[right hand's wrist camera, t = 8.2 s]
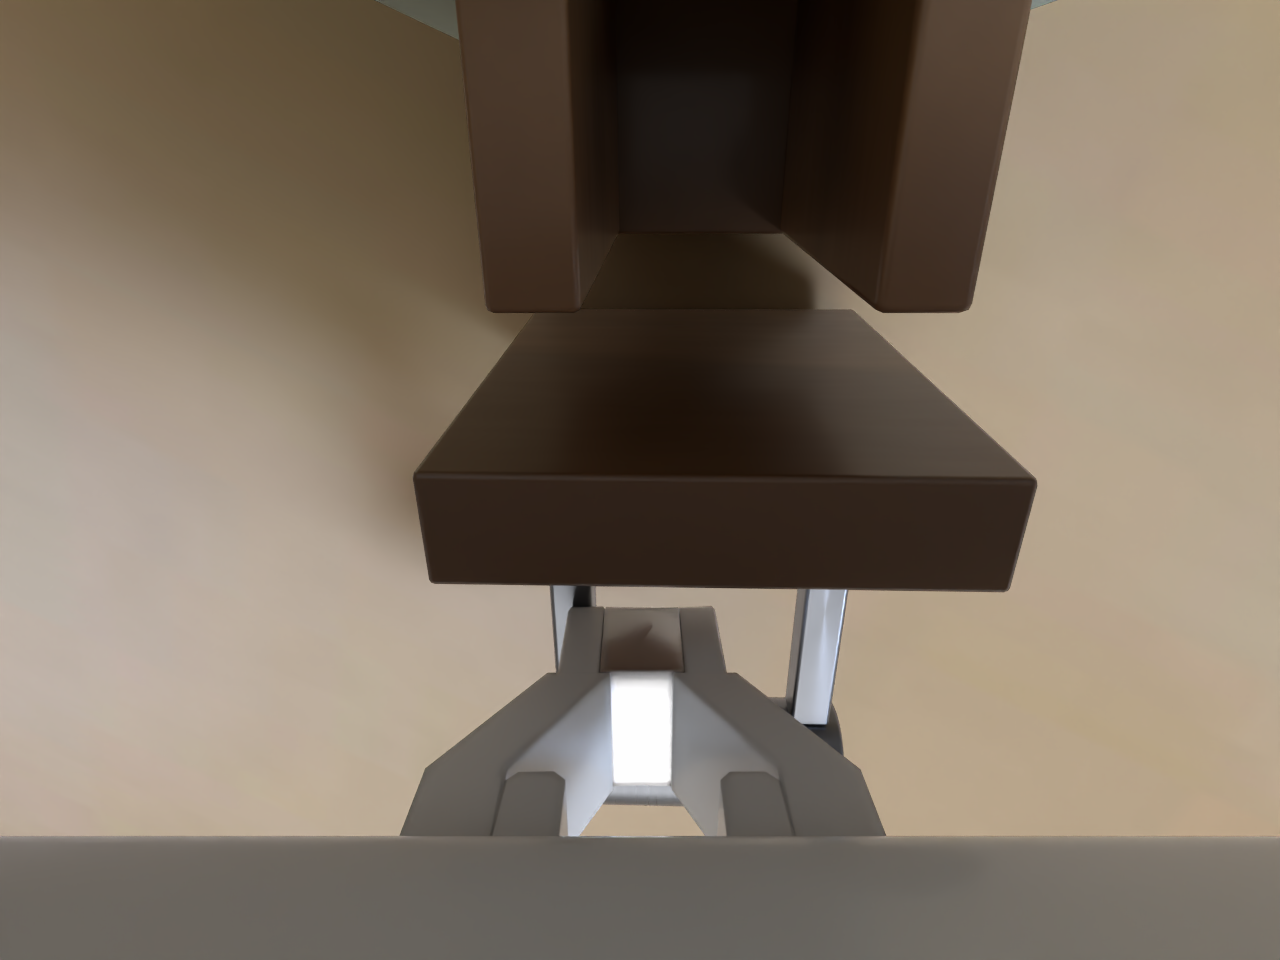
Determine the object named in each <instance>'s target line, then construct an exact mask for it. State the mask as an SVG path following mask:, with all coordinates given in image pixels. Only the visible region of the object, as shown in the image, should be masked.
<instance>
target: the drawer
mask: <svg viewBox="0 0 1280 960" xmlns="http://www.w3.org/2000/svg"><path fill="white" fill-rule="evenodd" d="M1031 4H1032V0H455V6H456V16H457V26H458V36H459V46H460V56H461V66H462V76H463V86H464V96H465V106H466V116H467V126H468V136H469V146H470V156H471V165H472V175H473V185H474V195H475V205H476V215H477V225H478V235H479V245H480V255H481V265H482V275H483V285H484V295H485V305H486V307H487V309H488V311H491V312H493V313H534V314H533V316H532V317H531V318H530V319H529V321H528V322H527V323H526V325H525V326H524V327H523V329H522V330H521V331H520V333H519V334H518V335H517V337H516V338H515V339H514V341H513V342H512V343H511V345H510V346H509V347H508V349H507V350H506V351H505V353H504V354H503V355H502V357H501V358H500V359H499V361H498V362H497V363H496V365H495V366H494V367H493V369H492V370H491V371H490V373H489V374H488V375H487V377H486V378H485V379H484V381H483V382H482V383H481V384H480V386H479V387H478V388H477V390H476V391H475V392H474V394H473V395H472V396H471V398H470V399H469V400H468V402H467V403H466V404H465V406H464V407H463V408H462V410H461V411H460V412H459V414H458V415H457V416H456V418H455V419H454V420H453V422H452V423H451V424H450V426H449V427H448V428H447V430H446V431H445V432H444V434H443V435H442V436H441V438H440V439H439V440H438V442H437V443H436V444H435V446H434V447H433V448H432V449H431V451H430V452H429V453H428V455H427V456H426V457H425V459H424V460H423V461H422V463H421V464H420V465H419V467H418V468H417V469H416V471H415V472H414V475H413V482H414V488H415V495H416V501H417V507H418V513H419V519H420V525H421V532H422V538H423V544H424V550H425V556H426V562H427V569H428V575H429V580H430V581H431V582H432V583H434V584H488V585H550V596H551V610H552V623H553V637H554V651H555V664H556V673H557V672H558V666H559V661H560V655H561V649H562V644H563V638H564V632H565V627H566V621H567V615H568V611H569V609H570V608H571V607H596V586H623V587H690V588H758V589H798V590H797V599H796V608H795V617H794V626H793V635H792V644H791V653H790V662H789V671H788V680H787V689H786V698H778V697H768V698H769V699H771V700H772V701H773V702H775V703H776V704H777V705H778V706H780V707H781V708H782V709H784V710H785V711H786V712H787V713H789V714H790V715H791V716H793V717H794V718H795V719H796V720H798V721H799V722H800V723H802V724H803V725H804V726H805V727H807V728H808V729H809V730H810V731H812V732H813V733H814V734H816V735H817V736H818V737H819V738H821V739H822V740H823V741H825V742H826V743H827V744H828V745H830V746H831V747H832V748H834V749H835V750H836V751H837V752H839V753H840V754H841V755H843V756H844V753H843V743H842V735H841V730H840V725H839V720H838V717H837V714H836V711H835V708H834V706H833V704H832V696H833V690H834V683H835V676H836V669H837V663H838V656H839V649H840V643H841V636H842V629H843V622H844V616H845V609H846V602H847V595H848V590H892V591H960V592H1005V591H1008V590H1009V588H1010V585H1011V582H1012V578H1013V574H1014V570H1015V567H1016V563H1017V559H1018V556H1019V552H1020V548H1021V544H1022V541H1023V537H1024V533H1025V530H1026V526H1027V522H1028V518H1029V515H1030V511H1031V507H1032V504H1033V500H1034V496H1035V492H1036V489H1037V481H1036V478H1035V477H1034V476H1033V475H1032V474H1030V473H1029V472H1028V471H1027V470H1026V469H1025V468H1024V467H1023V466H1022V465H1021V464H1020V463H1019V462H1017V461H1016V460H1015V459H1014V458H1013V457H1012V456H1011V455H1010V454H1009V453H1008V452H1007V451H1005V450H1004V449H1003V448H1002V447H1001V446H1000V445H999V444H998V443H997V442H996V441H995V440H994V439H992V438H991V437H990V436H989V435H988V434H987V433H986V432H985V431H984V430H983V429H982V428H981V427H979V426H978V425H977V424H976V423H975V422H974V421H973V420H972V419H971V418H970V417H969V416H968V415H966V414H965V413H964V412H963V411H962V410H961V409H960V408H959V407H958V406H957V405H956V404H954V403H953V402H952V401H951V400H950V399H949V398H948V397H947V396H946V395H945V394H944V393H943V392H941V391H940V390H939V389H938V388H937V387H936V386H935V385H934V384H933V383H932V382H931V381H930V380H928V379H927V378H926V377H925V376H924V375H923V374H922V373H921V372H920V371H919V370H918V369H917V368H915V367H914V366H913V365H912V364H911V363H910V362H909V361H908V360H907V359H906V358H905V357H903V356H902V355H901V354H900V353H899V352H898V351H897V350H896V349H895V348H894V347H893V346H892V345H890V344H889V343H888V342H887V341H886V340H885V339H884V338H883V337H882V336H881V335H880V334H879V333H877V332H876V331H875V330H874V329H873V328H872V327H871V326H870V325H869V324H868V323H867V322H866V321H864V320H863V319H862V318H861V317H860V316H859V315H858V314H857V313H856V312H855V311H853V310H761V309H580V308H581V306H582V304H583V302H584V300H585V298H586V296H587V294H588V292H589V290H590V288H591V286H592V284H593V282H594V280H595V278H596V276H597V275H598V273H599V271H600V269H601V267H602V265H603V263H604V261H605V259H606V257H607V255H608V253H609V251H610V249H611V247H612V245H613V243H614V241H615V239H616V237H617V235H618V234H784V235H785V236H787V237H788V238H789V239H790V240H791V241H793V242H794V243H795V244H796V245H798V246H799V247H800V248H801V249H802V250H804V251H805V252H806V253H807V254H809V255H810V256H811V257H812V258H813V259H815V260H816V261H817V262H818V263H819V264H821V265H822V266H823V267H824V268H826V269H827V270H828V271H829V272H830V273H832V274H833V275H834V276H835V277H837V278H838V279H839V280H840V281H841V282H843V283H844V284H845V285H846V286H848V287H849V288H850V289H851V290H852V291H854V292H855V293H856V294H857V295H859V296H860V297H861V298H862V299H863V300H865V301H866V302H867V303H868V304H869V305H871V306H872V307H873V308H874V309H876V310H878V311H880V312H882V313H960V312H963V311H966V310H969V308H970V306H971V304H972V301H973V296H974V291H975V286H976V281H977V276H978V271H979V266H980V260H981V255H982V250H983V245H984V240H985V235H986V230H987V225H988V220H989V215H990V210H991V205H992V200H993V195H994V190H995V185H996V180H997V175H998V170H999V165H1000V160H1001V155H1002V150H1003V145H1004V140H1005V135H1006V130H1007V125H1008V120H1009V115H1010V109H1011V104H1012V99H1013V94H1014V89H1015V84H1016V79H1017V74H1018V69H1019V64H1020V59H1021V54H1022V49H1023V44H1024V39H1025V34H1026V29H1027V24H1028V19H1029V14H1030V9H1031ZM603 804H611V805H651V806H683V805H682V803H681V802H680V800H679V799H678V798H677V796H676V795H675V794H674V792H673V791H672V789H671V786H645V785H637V786H613V790H612V791H611V793H610V794H609V796H608V797H607V798H606V800H605V801H604V802H603Z"/></svg>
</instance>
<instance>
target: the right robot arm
mask: <svg viewBox="0 0 1280 960" xmlns="http://www.w3.org/2000/svg"><path fill="white" fill-rule="evenodd" d="M637 785H645V786H671V789H672V791H673V792H674V794H675V795H676V796H677V798H678V799H679V800H680V802H681V803H682V805H683V806H684V807H685V809H686V810H687V811H688V813H689V814H690V816H691V817H692V818H693V820H694V821H695V822H696V824H697V825H698V826H699V828H700V829H701V831H702V832H703V833H704V835H705V836H579V835H580V834H581V833H582V831H583V830H584V829H585V827H586V826H587V824H588V823H589V822H590V820H591V819H592V818H593V816H594V815H595V813H596V812H597V811H598V809H599V808H600V807H601V805H602V804H603V802H604V801H605V800H606V798H607V797H608V796H609V794H610V793H611V791H612V790H613V786H637ZM0 960H1280V836H886V834H885V832H884V829H883V826H882V824H881V821H880V819H879V816H878V813H877V811H876V808H875V806H874V803H873V800H872V798H871V795H870V793H869V790H868V788H867V785H866V782H865V780H864V777H863V775H862V772H861V770H860V769H859V768H858V767H857V766H855V765H854V764H853V763H851V762H850V761H849V760H848V759H846V758H845V757H844V756H843V755H841V754H840V753H839V752H837V751H836V750H835V749H834V748H832V747H831V746H830V745H828V744H827V743H826V742H825V741H823V740H822V739H821V738H819V737H818V736H817V735H816V734H814V733H813V732H812V731H810V730H809V729H808V728H807V727H805V726H804V725H803V724H802V723H800V722H799V721H798V720H796V719H795V718H794V717H793V716H791V715H790V714H789V713H787V712H786V711H785V710H784V709H782V708H781V707H780V706H778V705H777V704H776V703H775V702H773V701H772V700H771V699H769V698H768V697H767V696H766V695H764V694H763V693H762V692H761V691H759V690H758V689H757V688H755V687H754V686H753V685H752V684H750V683H749V682H748V681H746V680H745V679H744V678H743V677H741V676H740V675H739V674H737V673H727V671H726V666H725V661H724V655H723V650H722V645H721V639H720V634H719V629H718V623H717V618H716V613H715V609H714V608H713V607H712V606H704V607H679V609H678V608H633V607H606V608H605V609H604V607H603V606H602V607H571V608H570V609H569V611H568V615H567V621H566V627H565V632H564V638H563V644H562V649H561V655H560V661H559V666H558V672H557V673H547V674H545V675H544V676H543V677H542V678H540V679H539V680H538V681H537V682H535V683H534V684H533V685H531V686H530V687H529V688H528V689H526V690H525V691H524V692H522V693H521V694H520V695H519V696H517V697H516V698H515V699H514V700H512V701H511V702H510V703H508V704H507V705H506V706H505V707H503V708H502V709H501V710H499V711H498V712H497V713H496V714H494V715H493V716H492V717H491V718H489V719H488V720H487V721H485V722H484V723H483V724H482V725H480V726H479V727H478V728H476V729H475V730H474V731H473V732H471V733H470V734H469V735H468V736H466V737H465V738H464V739H462V740H461V741H460V742H459V743H457V744H456V745H455V746H453V747H452V748H451V749H450V750H448V751H447V752H446V753H445V754H443V755H442V756H441V757H439V758H438V759H437V760H436V761H434V762H433V763H432V764H430V765H429V766H428V767H427V768H425V771H424V773H423V776H422V779H421V781H420V784H419V786H418V789H417V792H416V794H415V797H414V799H413V802H412V805H411V807H410V810H409V812H408V815H407V818H406V820H405V823H404V825H403V828H402V831H401V833H400V836H0Z"/></svg>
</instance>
